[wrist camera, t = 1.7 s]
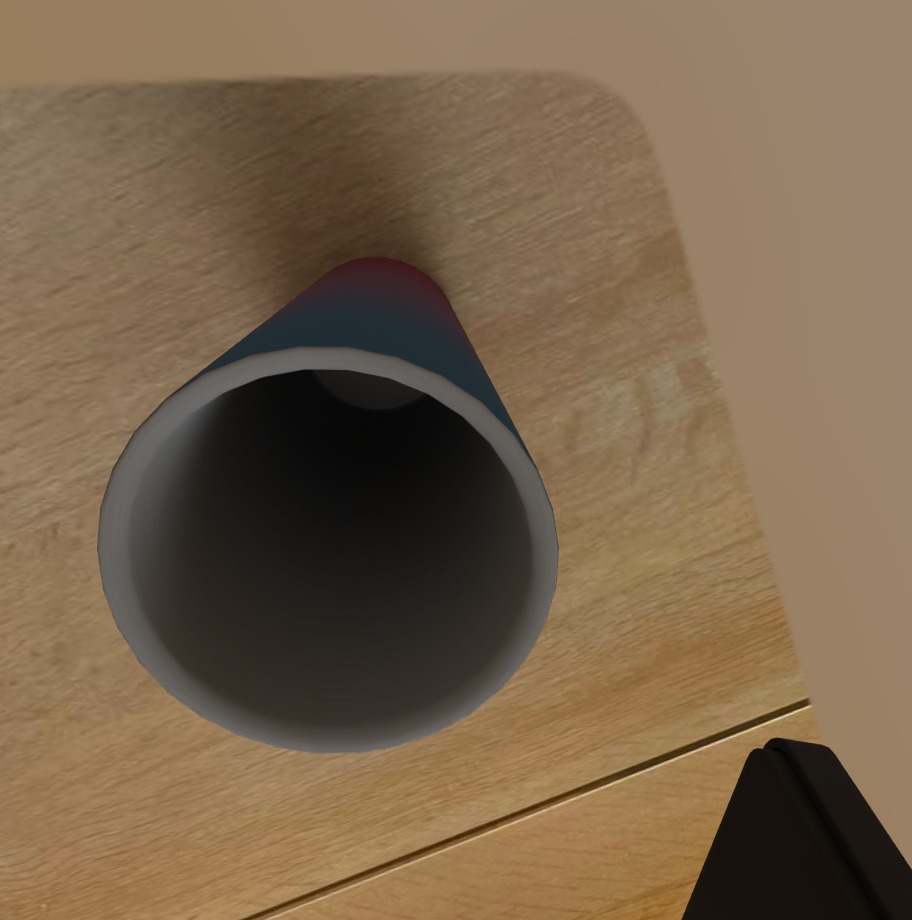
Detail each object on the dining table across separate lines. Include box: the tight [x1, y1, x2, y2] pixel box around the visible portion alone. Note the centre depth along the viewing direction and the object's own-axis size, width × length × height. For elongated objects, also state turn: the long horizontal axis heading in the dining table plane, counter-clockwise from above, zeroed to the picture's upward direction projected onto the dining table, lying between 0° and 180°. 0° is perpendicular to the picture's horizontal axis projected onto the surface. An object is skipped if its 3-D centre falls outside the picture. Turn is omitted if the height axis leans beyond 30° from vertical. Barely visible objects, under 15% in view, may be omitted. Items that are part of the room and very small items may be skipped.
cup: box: [97, 258, 559, 753], centre depth 20 cm, size 7×7×15 cm
